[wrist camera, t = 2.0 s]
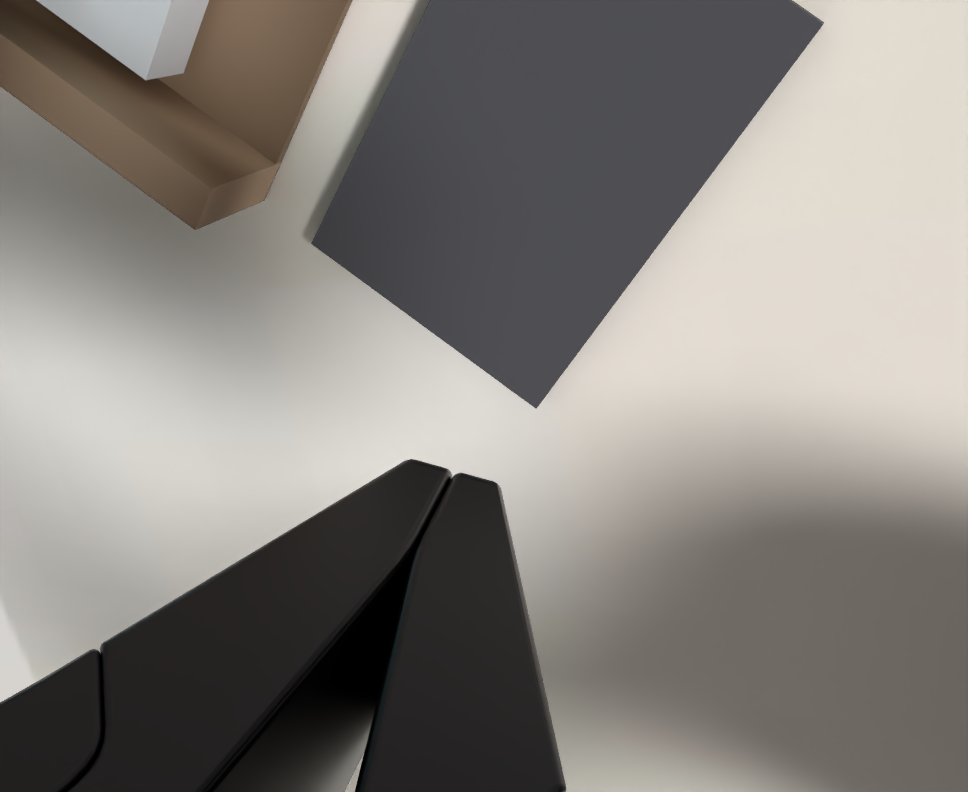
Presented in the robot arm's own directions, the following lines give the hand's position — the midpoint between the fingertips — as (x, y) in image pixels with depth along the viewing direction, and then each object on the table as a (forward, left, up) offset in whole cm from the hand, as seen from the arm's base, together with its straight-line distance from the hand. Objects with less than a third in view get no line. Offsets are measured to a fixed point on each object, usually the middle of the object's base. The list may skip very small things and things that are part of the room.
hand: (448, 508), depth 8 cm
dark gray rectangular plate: (+2, +2, -11) cm, 11 cm away
